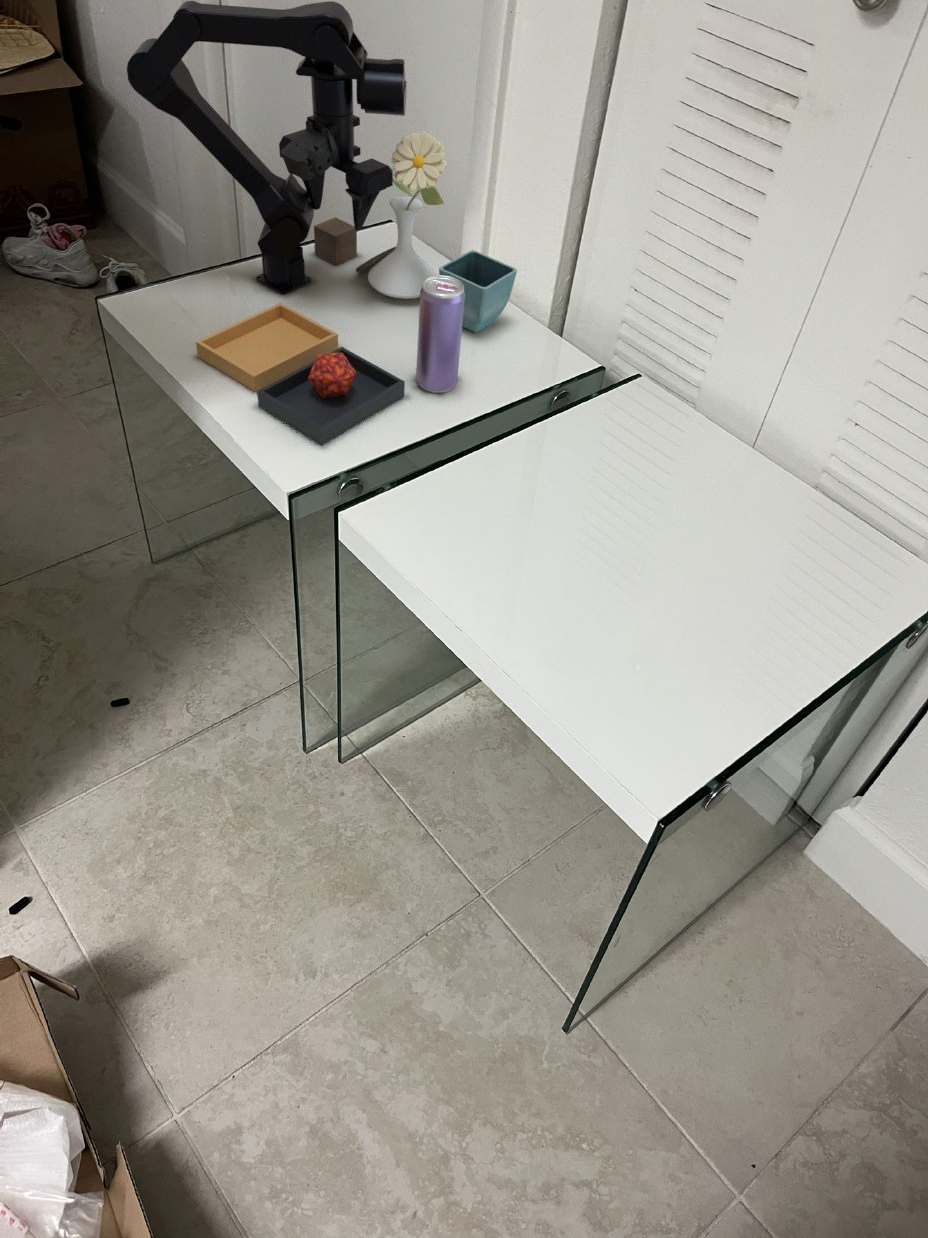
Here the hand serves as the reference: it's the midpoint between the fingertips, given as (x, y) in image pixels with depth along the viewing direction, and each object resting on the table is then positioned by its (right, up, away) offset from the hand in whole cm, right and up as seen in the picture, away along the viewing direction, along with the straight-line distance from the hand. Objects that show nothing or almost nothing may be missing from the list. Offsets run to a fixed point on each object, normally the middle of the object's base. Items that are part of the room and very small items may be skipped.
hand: (337, 218), depth 145 cm
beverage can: (+15, -27, -8) cm, 33 cm away
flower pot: (+21, -15, +4) cm, 26 cm away
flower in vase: (+10, -8, +9) cm, 16 cm away
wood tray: (-9, -22, -7) cm, 25 cm away
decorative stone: (+1, -30, -13) cm, 33 cm away
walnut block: (-2, 0, +15) cm, 15 cm away
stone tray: (+1, -31, -14) cm, 34 cm away
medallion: (+5, -2, +9) cm, 11 cm away
